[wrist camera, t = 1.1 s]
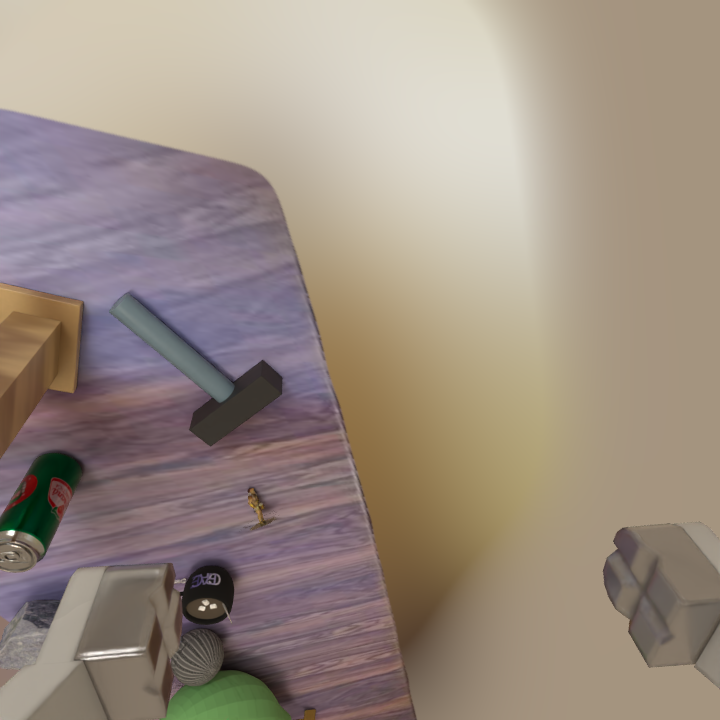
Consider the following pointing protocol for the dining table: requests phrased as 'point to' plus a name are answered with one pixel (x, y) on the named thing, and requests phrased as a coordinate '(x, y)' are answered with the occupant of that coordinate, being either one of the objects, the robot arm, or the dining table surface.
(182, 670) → the lollipop
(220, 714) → the balloon
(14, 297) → the stand
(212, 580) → the mug
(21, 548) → the soda can
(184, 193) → the dining table surface
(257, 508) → the soldier figurine
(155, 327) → the hammer
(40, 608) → the rock
